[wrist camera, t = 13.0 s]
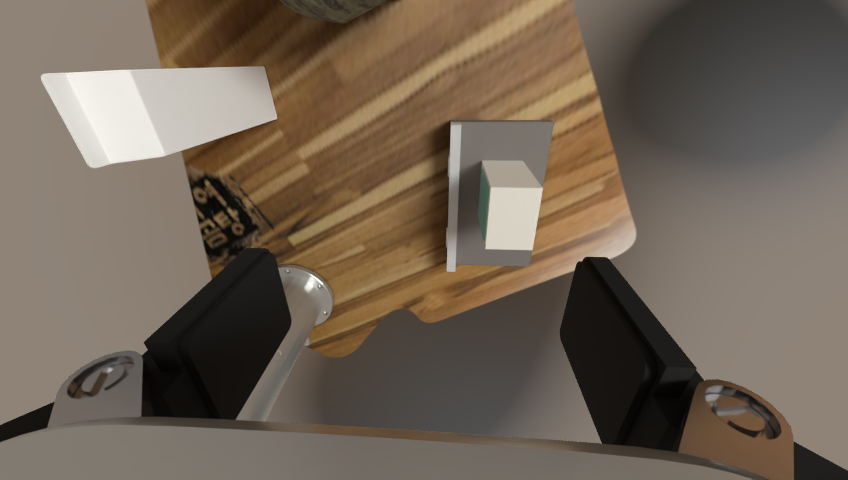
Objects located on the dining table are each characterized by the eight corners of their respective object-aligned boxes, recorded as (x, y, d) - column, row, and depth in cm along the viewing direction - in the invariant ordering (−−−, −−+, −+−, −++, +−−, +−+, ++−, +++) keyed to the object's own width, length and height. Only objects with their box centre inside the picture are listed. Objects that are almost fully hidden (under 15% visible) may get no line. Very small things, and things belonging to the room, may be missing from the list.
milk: (234, 121, 42) (51, 172, 23) (217, 68, 39) (-8, 76, 20) (279, 118, 42) (130, 170, 22) (265, 64, 39) (81, 70, 20)
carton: (515, 212, 44) (532, 250, 35) (476, 211, 44) (483, 249, 36) (522, 160, 41) (542, 188, 32) (480, 160, 41) (488, 187, 32)
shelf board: (527, 260, 49) (532, 274, 46) (445, 258, 50) (445, 271, 47) (550, 120, 40) (558, 125, 36) (449, 120, 40) (449, 125, 37)
